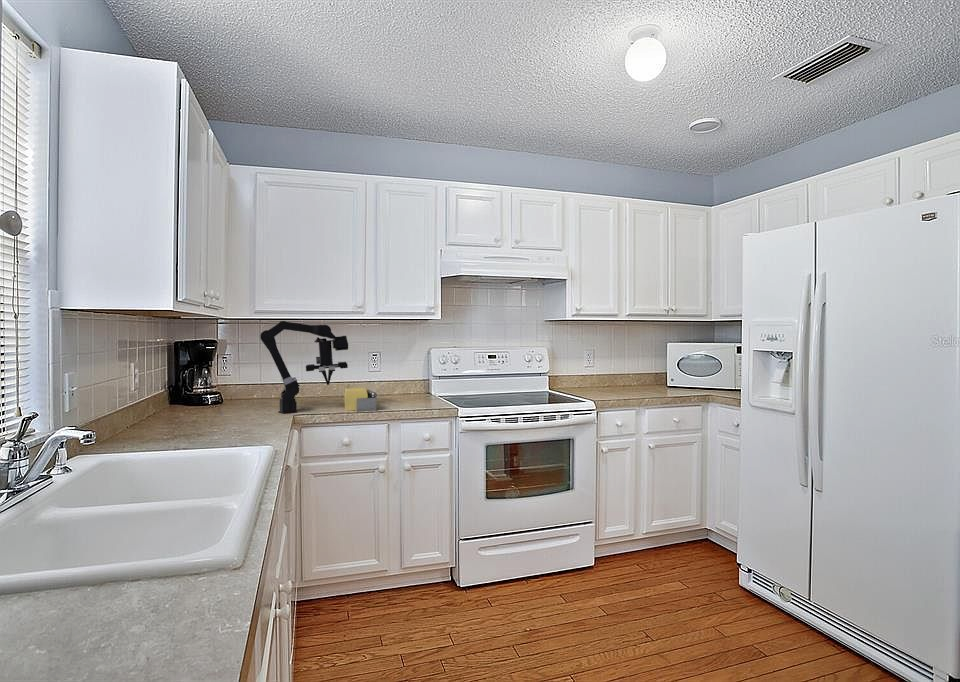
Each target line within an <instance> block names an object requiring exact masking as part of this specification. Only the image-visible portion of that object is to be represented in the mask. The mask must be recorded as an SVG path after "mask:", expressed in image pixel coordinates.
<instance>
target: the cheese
mask: <svg viewBox="0 0 960 682" xmlns="http://www.w3.org/2000/svg"><path fill="white" fill-rule="evenodd" d="M367 390H368V388H367V387H352V388H346V389H344V409H345V410H357V398H368V393H367Z"/></svg>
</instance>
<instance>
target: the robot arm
mask: <svg viewBox="0 0 960 682" xmlns="http://www.w3.org/2000/svg"><path fill="white" fill-rule="evenodd" d="M284 330H287V331H295V332H299V333H300V332H302V333H308V334H312V335H314V336H317V337H316V338H315V340H314V341H313V342H314V343H318V351H319V352H318V353H319V354H318V355H319V356H316V357H315V360H316V365H315V363H311V364H310V363H309V364H306V365H305V372H314V371H315V370H318V372H319V373H321V374H322V376H323V378H324V381H325V383H326V385H327V386H329V385H330V382H331V379H332V375H333V373H334V372H336V369H337V368H340V369H348V368H349V366H348V363H347V362H346V361H338V362H337V363H334V361H333V350H335V351H337V352H338V351H348V350H349V342H348V338H347V337H348V336H347V335H340V336H335V334H334V333H333V332H332V328H331V327H330V326H329V325H328V324H305V323H300V322H299V323H297V322H290V321H285V320H280V321H279V322H278V323H277V324H275V325H274V326H272V327H271V328H270V329H266V330H263V331H261V332H260V335H259V338H260V341H261V342H262V343H263V345H264V346H265V348H266V349H267V350H268V352H269V354H270V356H271V357H272V360H273V361H274V364H275V366H276V368H277V370H278V372H279V375H280V377H281V379H282V382H283V386H284V390H283V391H281V393H279V395H280V399H279V410H277V413H281V414H291V413H298V411H297V407H298V406H297V403H298V402H297V400H296V398H295V397H296V396H297V395H298V394H299V393H300V384H299V383H298V379H297V377H295V376H294V377H293V376H291V374H290V372H289V370H288V368H287V365H286V364H285V361H284V359H283V357H282V355H281V353H280V351H279V349H278V345H277V342H276V338H275V337H276V336H278V335H279V334H280V333H281V332H283V331H284ZM320 337H322V338H320ZM328 339H329V340H328ZM326 369H327V371H328V373H327V372H326Z"/></svg>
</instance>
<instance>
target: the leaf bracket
mask: <svg viewBox="0 0 960 682" xmlns="http://www.w3.org/2000/svg"><path fill="white" fill-rule="evenodd" d="M367 393H368V398H357V411H356V412H373V411H375V412H376V411H377V396H378V394H377V392H375V391H372V390H370V389H367Z"/></svg>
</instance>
